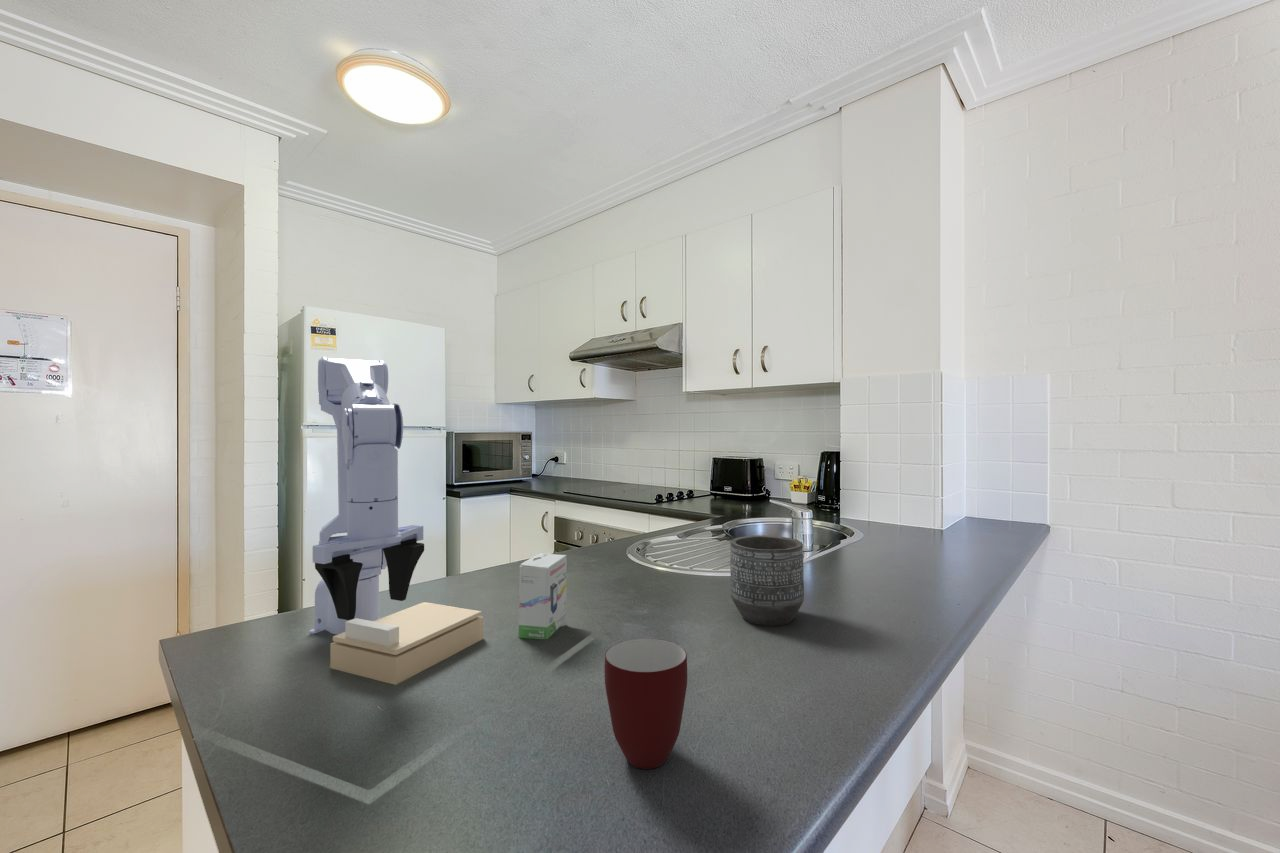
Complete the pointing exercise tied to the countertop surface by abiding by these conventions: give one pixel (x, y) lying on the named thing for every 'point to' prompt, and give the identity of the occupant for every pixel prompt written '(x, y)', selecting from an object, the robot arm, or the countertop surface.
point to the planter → (767, 578)
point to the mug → (646, 698)
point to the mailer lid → (404, 627)
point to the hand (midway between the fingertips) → (373, 608)
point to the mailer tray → (405, 654)
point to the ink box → (542, 595)
